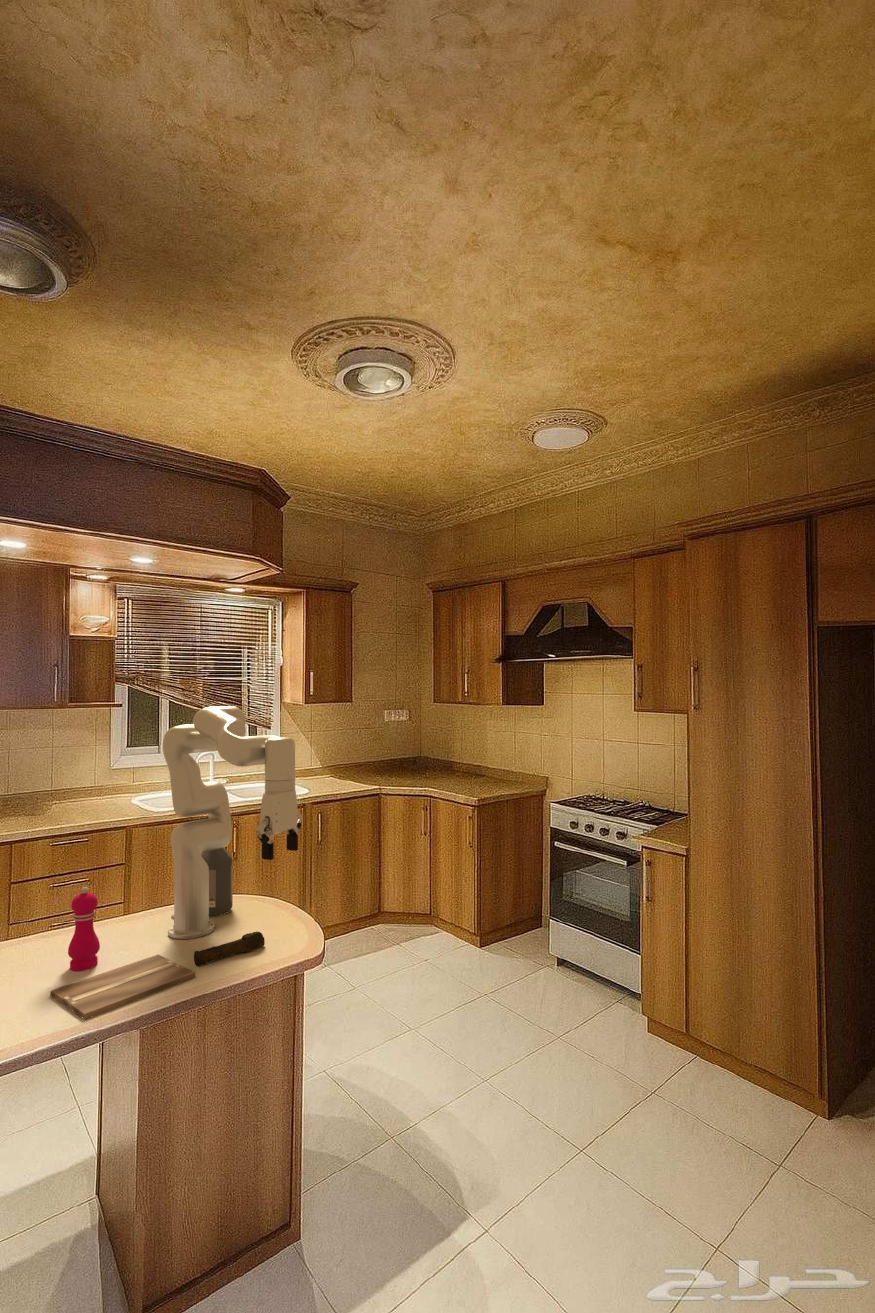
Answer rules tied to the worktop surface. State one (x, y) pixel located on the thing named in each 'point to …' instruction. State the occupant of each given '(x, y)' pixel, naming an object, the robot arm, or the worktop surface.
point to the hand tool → (230, 948)
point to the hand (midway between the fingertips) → (280, 854)
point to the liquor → (219, 881)
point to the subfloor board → (121, 985)
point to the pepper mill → (84, 932)
